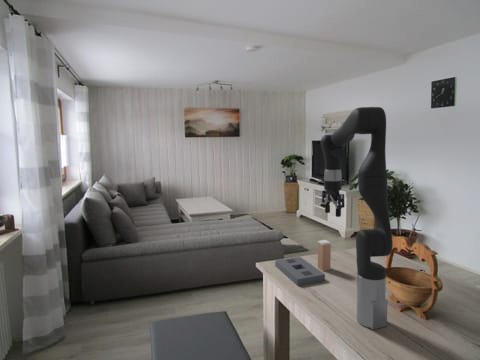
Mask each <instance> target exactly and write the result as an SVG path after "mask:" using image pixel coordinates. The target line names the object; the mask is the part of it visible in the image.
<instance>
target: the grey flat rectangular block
mask: <svg viewBox="0 0 480 360" xmlns="http://www.w3.org/2000/svg"><path fill="white" fill-rule="evenodd" d="M274 260H275V259H274ZM274 263H275V267H276V268H277V269H278V270H279V271H281V273H283V275H285V276H286V277H287V278H288V279H290V281H291V282H293V284H295V285H296V286H297V287H298V286H302V285H307V284H309V285H310V284H313V283H318V282H325V280H326V274H325V273H324V272H323V271H322V270H320V269H319V268H318V267H316V266H314V265H312V264H311V263H310V262H308V260H305V259H304V258H302V257H301V256H296V257H289V258H281V259H276V260H275V262H274Z"/></svg>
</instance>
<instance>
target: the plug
mask: <svg viewBox="0 0 480 360" xmlns="http://www.w3.org/2000/svg"><path fill="white" fill-rule="evenodd" d="M331 245H332V244H331V241H329V240H327V239H321V240H317V269H318V270H320V271H321V272H325V271H331V258H332V257H331V254H332V253H331V247H332V246H331Z"/></svg>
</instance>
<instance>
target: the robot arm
mask: <svg viewBox="0 0 480 360" xmlns="http://www.w3.org/2000/svg"><path fill="white" fill-rule="evenodd" d="M356 134H357V135H370V137H371V138H370V140H371V141H370V148H369V150H368V153H367V154H366V156H365V158H364V159H363V161H362V163H361V165H360V167H359V169H358V171H357V172H358V173H357V182H358V193H359V194H360V197H361V198H362V199H363V201H364V202H365V204H366V205H367V207H368V208H369V209H370V211H371V212H372V215H373V217H374V220H375V225H376V228H372V229H371V228H370V229H369V228H368V229H360V230H358V231H357V232H356V236H355V248H356V249H355V250H356V269H357V276H356V277H357V279H356V282H357V283H356V321H357V323H359V324H360V325H361V326H364V327H366V328H369V329H371V330H377V329H381V328H385V327H387V326H388V299H386V293H387V292H386V289H387V287H386V286H387V269H386V267H385V266H384V265H382V264H381V263H377V262H374V261H372V259H371V257H373V258H374V257H376V258H377V257H389V256H390V255H391V253H392V251H393V243H394V242H393V235H392V234H393V233H392V227H391V220H390V214H389V200H388V199H389V197H388V174H387V163H386V162H387V160H386V143H387V142H386V139H387V115H386V111H385V110H384V108H383V107H381V106H367V107H366V106H365V107H360V106H359V107H357V108H355V109H353V110H352V111H351V112H350V113H349V115H348V116H347V118H346V119H345V121H344V122H343V123H342V125H341V126H340V127H339V128H337V129H336V130H335V131H334V132H333V133H332V134H324V135H323V136H322V137H321V139H320V146H321V150H322V155H323V159H324V173H323V175H324V176H323V186H324V187H323V188H324V190H322V193H321V203H322V204H323V205H324V213H325V214H330V213H331V205H330V204H331V203H332V204H333V205H334V206H335V217H336V218H339V217H341V216H342V209H343V208H345V194H344V193H340V191H341V190H342V188H343V187H342V183H343V182H342V180H343V179H342V177H343V176H342V158H341V156H338V155H335V154H332V151H342V150H344V149H345V147H346V145H347V144H348V143H350V142H352V141H353V139H354V137H355V135H356Z"/></svg>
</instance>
